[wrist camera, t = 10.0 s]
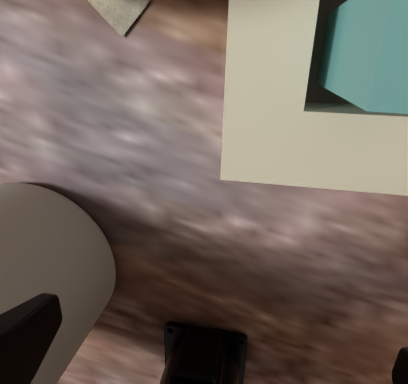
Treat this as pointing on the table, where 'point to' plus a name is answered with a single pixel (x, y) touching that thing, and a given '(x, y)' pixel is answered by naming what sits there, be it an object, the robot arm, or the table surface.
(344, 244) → the table surface
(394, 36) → the peg
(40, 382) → the cylinder vase
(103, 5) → the condiment
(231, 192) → the table surface
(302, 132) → the socket block
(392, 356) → the table surface
